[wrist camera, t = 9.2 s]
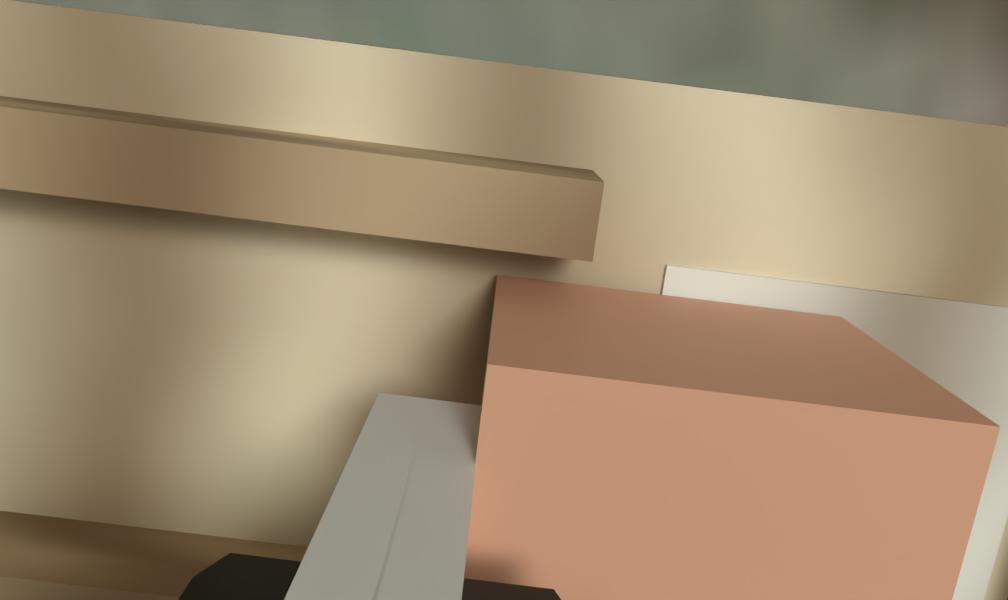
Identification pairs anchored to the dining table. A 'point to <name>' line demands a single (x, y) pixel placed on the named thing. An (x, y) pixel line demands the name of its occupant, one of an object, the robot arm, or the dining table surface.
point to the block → (713, 454)
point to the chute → (404, 264)
